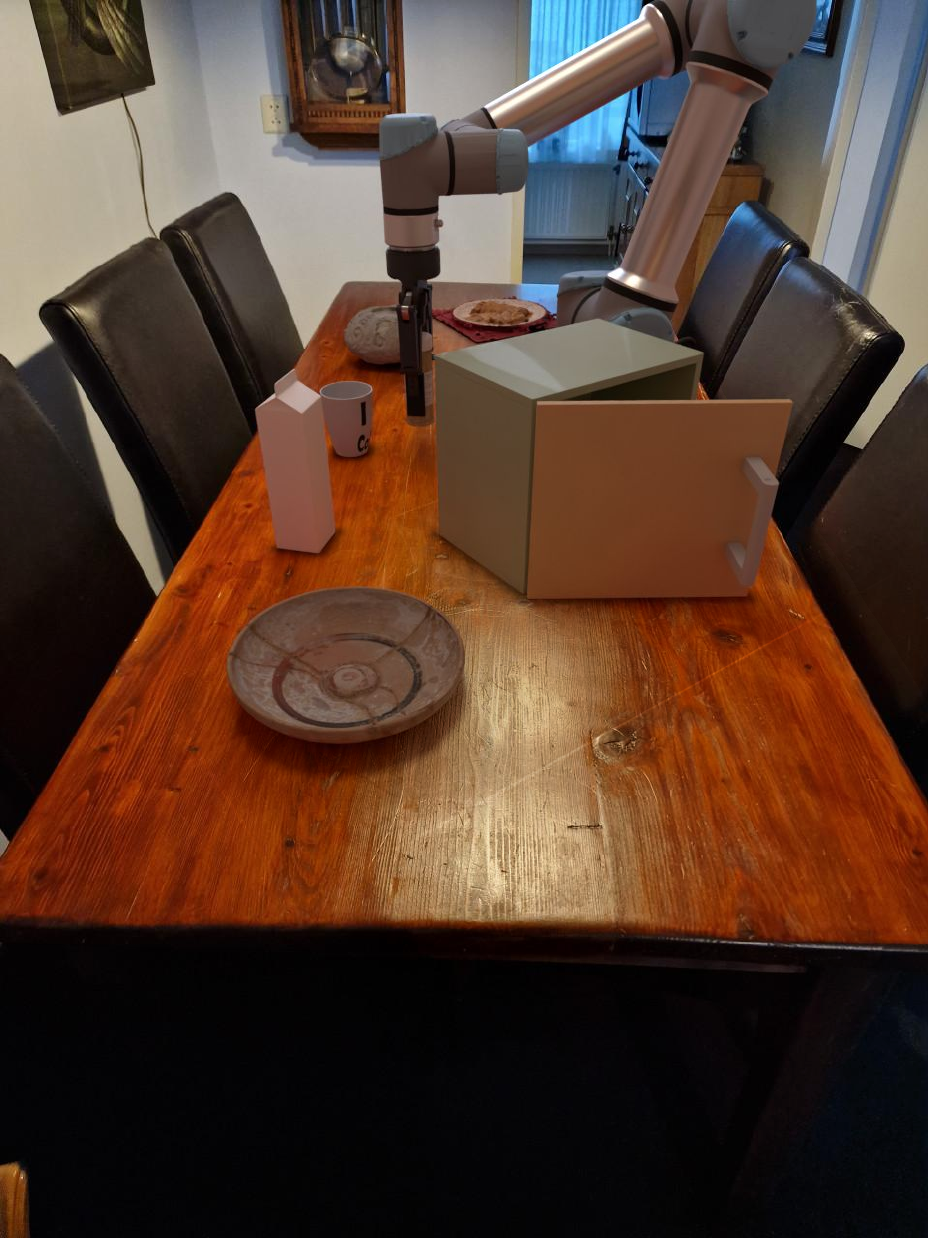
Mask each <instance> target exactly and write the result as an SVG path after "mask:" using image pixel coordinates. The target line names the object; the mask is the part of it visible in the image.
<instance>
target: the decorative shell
mask: <svg viewBox="0 0 928 1238" xmlns="http://www.w3.org/2000/svg"><path fill="white" fill-rule="evenodd" d="M397 305H398V304H391V305H375V306H370V307H367V308H365V309H359V312H357V313H356V314H355V315H354V316H353V317H352V318H351V319H350V320H349V322H348V324H347V326H346V328H345V329H344V330H343V335H344V343H345V346H346V347H347V350H348V351H349V352H350V354H352V355H356V356H357V357H358V358H360V359H361V360H363V361H365V362H366V363H369V364H375V365H381V366H382V365H385V364H386V365H387V364H388V365H389V364H392V365H393V364H401V362H400V346H399V330H398V319H397V313H396V306H397Z"/></svg>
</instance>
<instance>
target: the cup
mask: <svg viewBox="0 0 928 1238" xmlns="http://www.w3.org/2000/svg"><path fill="white" fill-rule="evenodd" d="M373 393H374V392H373V386H372V385H371V384H368V383H365V382H361V381H355V380H354V381H353V380H352V381H351V380H347V381H345V380H344V381H337V382H332V383H329V384H326V385H324V386H322V387H321V388H320V389H319V395H320V396H321V400H322V409H323V419H324V424H325V426H326V429H327V433H328V436H329V440H330V442H331V445H332V446H333V448H334V451H335V453H336V455H339V456H340V457H345V458H354V457H359V456H362V455H365V454H366V453H367V452H368V449H369V445H370V442H371V437H372V427H373V417H374V405H373V403H374V398H373V397H374V396H373V395H374V394H373Z"/></svg>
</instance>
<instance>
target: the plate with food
mask: <svg viewBox="0 0 928 1238" xmlns="http://www.w3.org/2000/svg"><path fill="white" fill-rule="evenodd" d="M556 314H557V312H555V313H552V312H551V311H550V310H548V309H547V307H545V306H544V305H542V304H540V303H539V302H534V301H531V300H523V299H519V298H517V296H516V295H512V297H510V296H508V297H507V298H506V297H503V298H487V299H485V298H484V299H478V300H474V299H473V300H470V301H467V302H464V303H462V304H459V305H457V307H455V308H452V307H451V308H449V309H445V308H443V310H441V309H432V316H433V318H435V319H437V320H438V321H439V322H444V323H446V324H447V325H450V326H451V327H452V328H454V329H455V330H456V331H458V332H459V333H462V334H463V335H464V336H467V337H468V338H469V339H471V340H472V341H474V343H481V342H485V341H488V342H490V340H492V339H493V340H496V341H497V340H503V339H507V338H512V337H516V336H522V335H526V334H529V333H530V332H531V330H530V329H529V327H530V326H535V328H536V329H541V328H542V327H543V328H544V329H545V330H549V329H553V328H556ZM477 334H478V335H477Z"/></svg>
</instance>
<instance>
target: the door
mask: <svg viewBox="0 0 928 1238" xmlns="http://www.w3.org/2000/svg"><path fill="white" fill-rule="evenodd" d="M793 405H794V402H793V401H792V400H791V399H790V398H785V399H784V398H779V399H778V398H776V399H775V398H774V399H773V398H772V399H771V398H770V399H769V398H768V399H765V398H763V399H760V398H759V399H756V398H755V399H696V400H638V401H537V406H536V426H535V445H534V465H533V485H532V505H531V525H530V544H529V564H528V584H527V593H526V597H527V599H528V600H549V599H550V600H556V599H557V600H561V599H566V600H567V599H569V600H571V599H574V600H575V599H644V598H645V599H646V598H647V599H648V598H649V599H650V598H652V599H653V598H654V599H655V598H657V599H658V598H733V597H734V598H739V597H741V598H743V597H744V598H745V597H748V593H749V589H750V588H751V587H754V586H755V584H756V580H757V575H758V572H759V567H760V564H761V559H762V556H763V552H764V547H765V543H766V539H767V535H768V531H769V526H770V523H771V517H772V513H773V510H774V506H775V502H776V501H775V500H776V497H777V493H778V489H779V485H780V482H779V480H778V479H777V478H776V476H777V472H778V468H779V464H780V460H781V456H782V455H781V454H782V451H783V450H782V449H783V448H784V447H783V446H784V442H785V439H786V435H787V429H788V426H789V421H790V417H791V413H792V408H793Z"/></svg>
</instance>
